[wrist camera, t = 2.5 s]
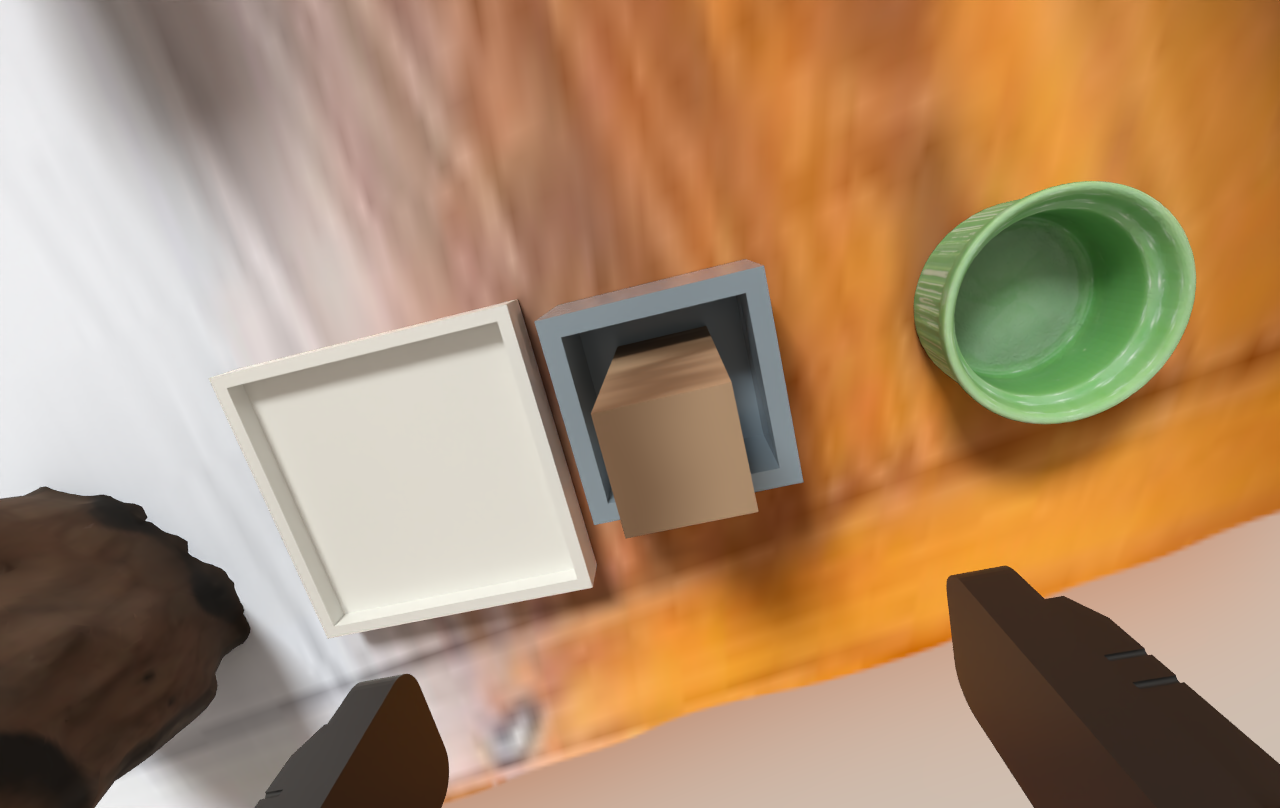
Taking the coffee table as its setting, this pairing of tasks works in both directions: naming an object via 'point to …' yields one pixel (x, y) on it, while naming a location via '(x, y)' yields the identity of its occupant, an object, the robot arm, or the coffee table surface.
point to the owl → (99, 644)
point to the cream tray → (414, 471)
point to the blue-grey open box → (708, 297)
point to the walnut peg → (672, 435)
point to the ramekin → (1057, 300)
